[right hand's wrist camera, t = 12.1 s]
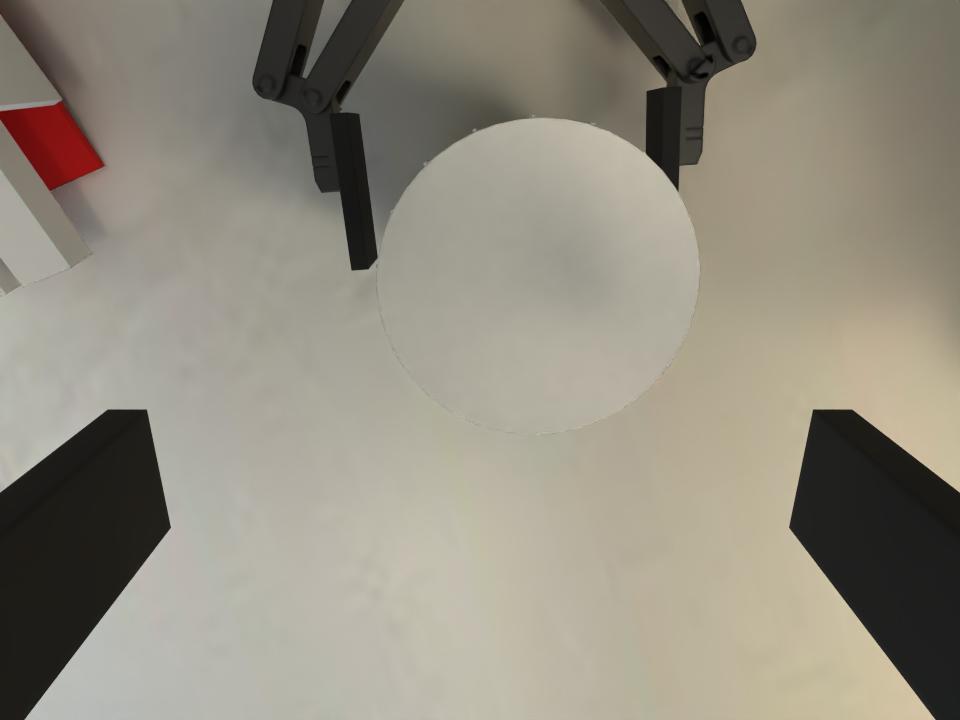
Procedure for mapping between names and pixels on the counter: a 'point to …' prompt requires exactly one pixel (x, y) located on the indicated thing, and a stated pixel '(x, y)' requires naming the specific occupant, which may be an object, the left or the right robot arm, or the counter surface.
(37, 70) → the toy
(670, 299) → the lid
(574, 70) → the counter surface
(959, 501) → the right robot arm
